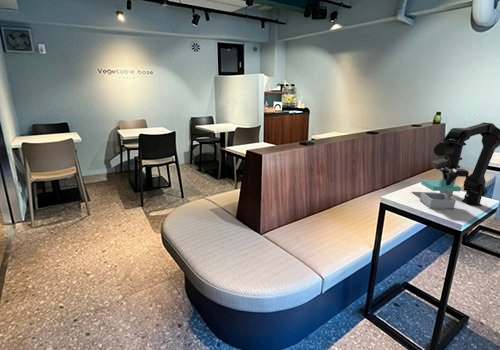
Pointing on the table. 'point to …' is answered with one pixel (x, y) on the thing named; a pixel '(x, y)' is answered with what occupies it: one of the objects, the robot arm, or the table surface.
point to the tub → (437, 200)
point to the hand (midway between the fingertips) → (446, 184)
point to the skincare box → (448, 191)
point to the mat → (420, 193)
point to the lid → (440, 185)
